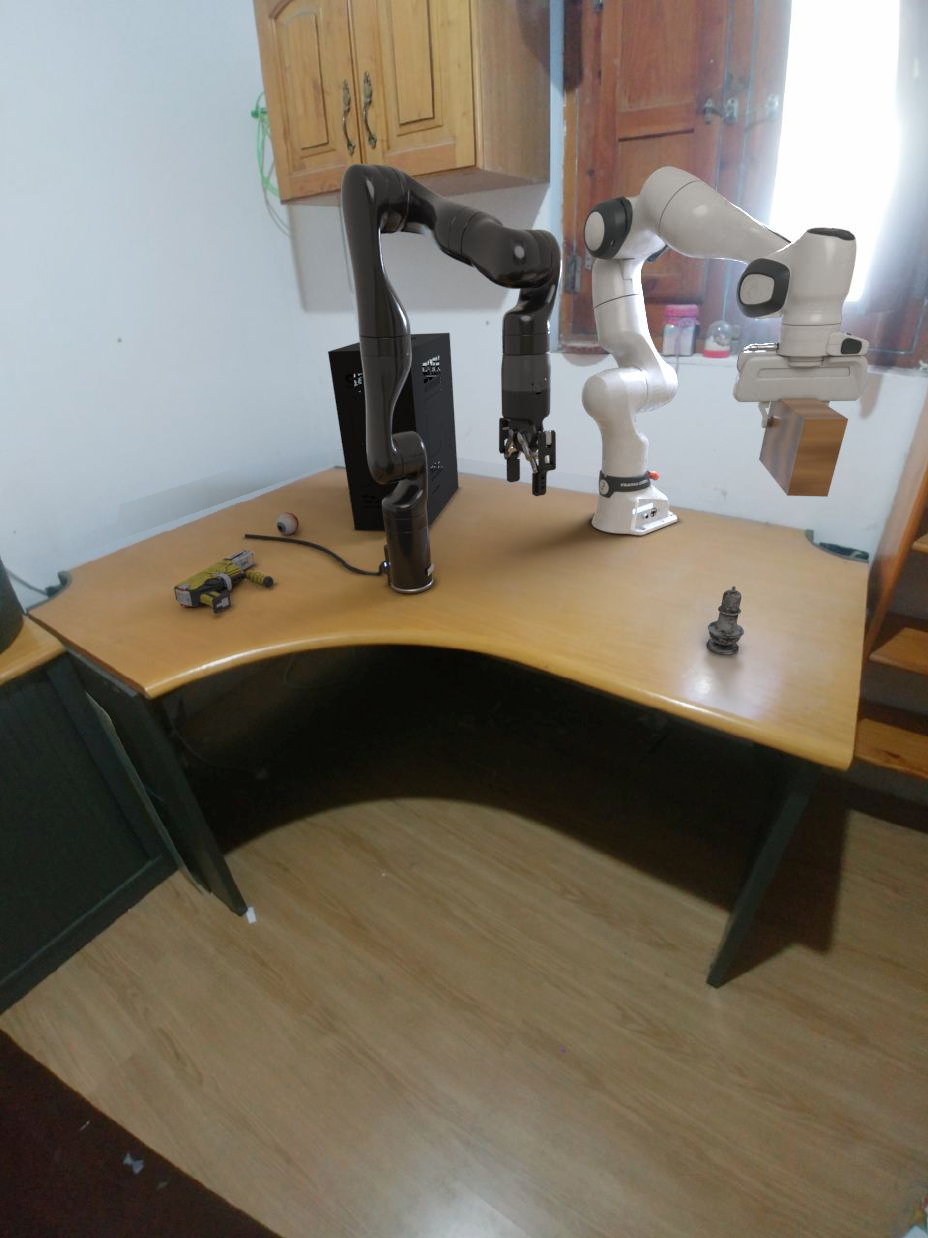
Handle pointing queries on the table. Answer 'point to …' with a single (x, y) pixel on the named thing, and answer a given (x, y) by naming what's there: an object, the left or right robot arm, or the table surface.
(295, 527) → the eyeball
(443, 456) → the cardboard box
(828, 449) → the box
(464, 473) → the table surface
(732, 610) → the dark grey chess piece
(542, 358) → the left robot arm
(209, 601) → the toy gun
